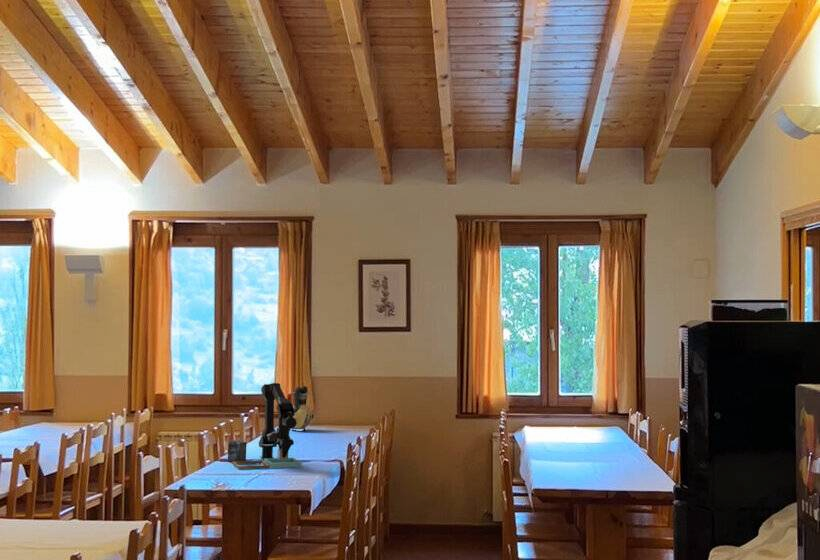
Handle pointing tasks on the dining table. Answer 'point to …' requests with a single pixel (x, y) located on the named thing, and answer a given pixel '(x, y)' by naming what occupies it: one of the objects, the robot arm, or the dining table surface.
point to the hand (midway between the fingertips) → (282, 456)
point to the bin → (282, 463)
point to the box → (236, 451)
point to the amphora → (301, 408)
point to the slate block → (281, 455)
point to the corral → (249, 463)
